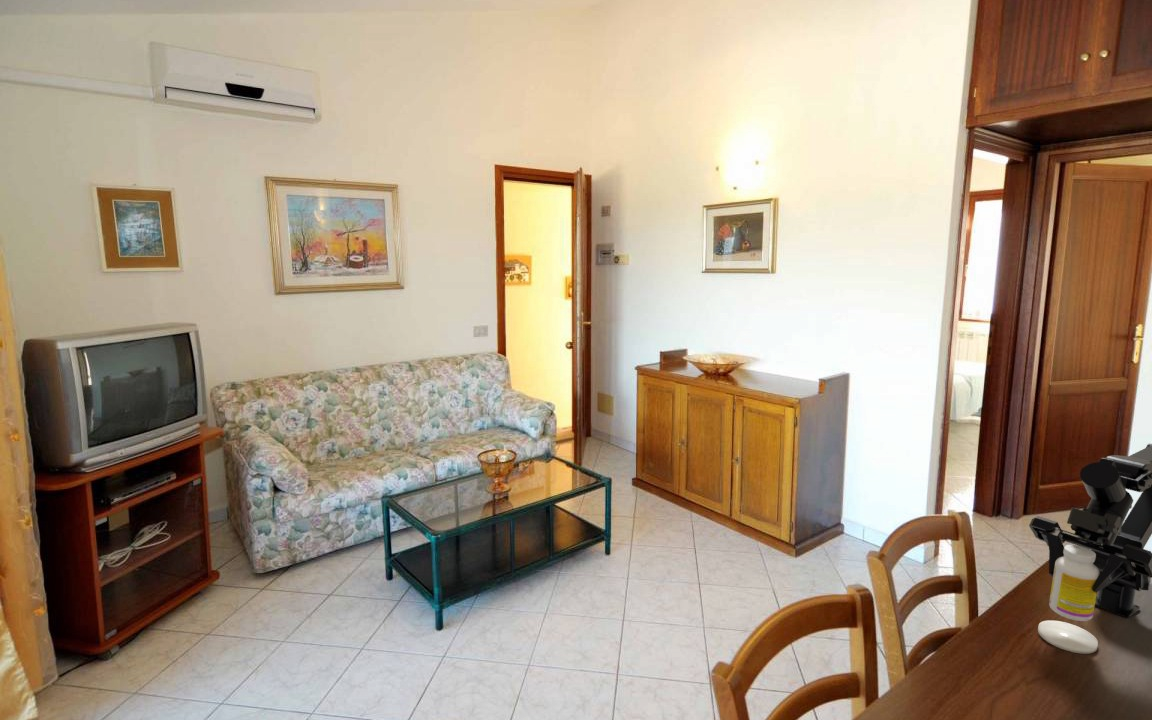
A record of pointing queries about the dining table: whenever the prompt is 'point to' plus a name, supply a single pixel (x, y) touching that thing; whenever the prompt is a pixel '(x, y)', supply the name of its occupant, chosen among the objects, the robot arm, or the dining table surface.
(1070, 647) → the coaster
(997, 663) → the dining table surface
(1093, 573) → the supplement bottle
